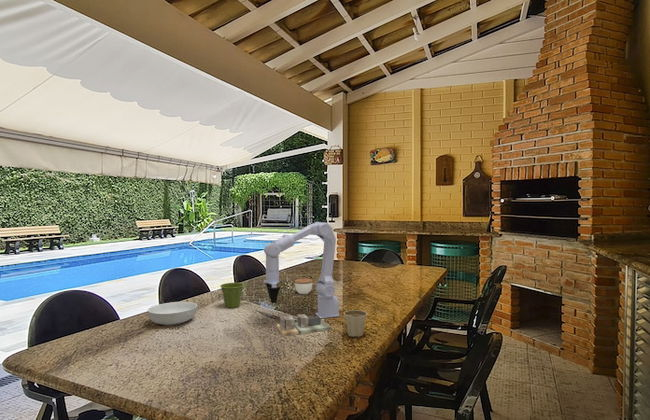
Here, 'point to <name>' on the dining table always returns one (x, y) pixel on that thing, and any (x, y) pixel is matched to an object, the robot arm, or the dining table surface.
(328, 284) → the robot arm
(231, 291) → the plant pot
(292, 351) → the dining table surface
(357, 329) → the flower pot
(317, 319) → the charcoal brick
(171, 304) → the serving bowl
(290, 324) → the base
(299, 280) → the lidded jar
